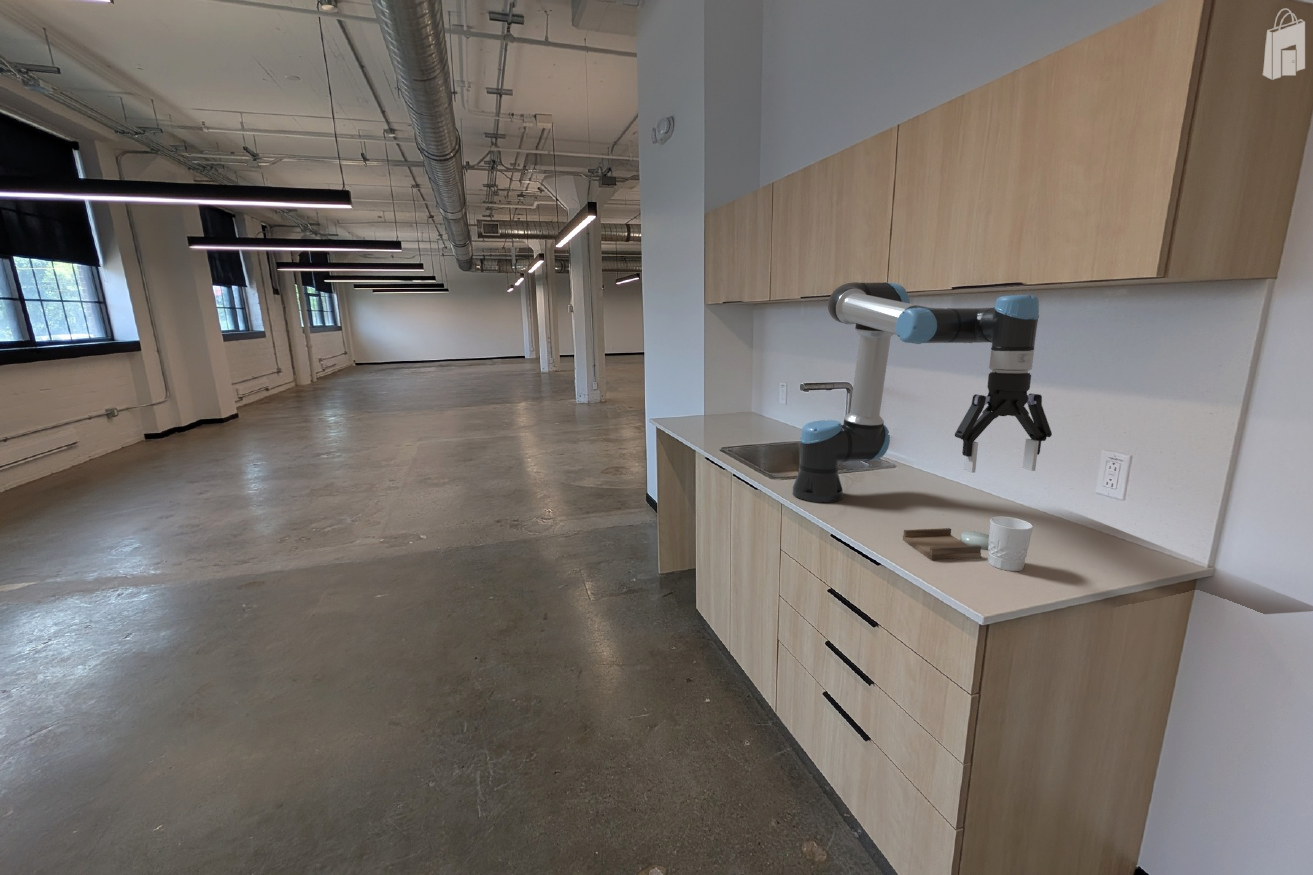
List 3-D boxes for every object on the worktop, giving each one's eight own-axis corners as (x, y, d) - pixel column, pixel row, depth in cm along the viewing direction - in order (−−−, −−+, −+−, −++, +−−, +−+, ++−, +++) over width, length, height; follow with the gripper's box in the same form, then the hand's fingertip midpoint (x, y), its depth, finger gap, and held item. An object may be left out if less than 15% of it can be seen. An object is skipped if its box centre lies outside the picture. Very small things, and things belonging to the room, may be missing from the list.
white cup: (991, 554, 126) (997, 513, 124) (1031, 565, 120) (1037, 523, 118) (979, 564, 121) (984, 522, 119) (1020, 576, 115) (1026, 532, 113)
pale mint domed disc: (954, 539, 136) (955, 532, 135) (980, 538, 136) (981, 530, 136) (973, 550, 129) (974, 543, 128) (1000, 549, 130) (1001, 541, 129)
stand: (902, 539, 135) (903, 529, 134) (947, 537, 136) (948, 527, 135) (931, 560, 123) (932, 549, 122) (980, 557, 124) (981, 546, 124)
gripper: (964, 373, 108) (955, 476, 112) (1080, 371, 110) (1067, 472, 114) (942, 371, 115) (934, 467, 119) (1051, 369, 118) (1039, 464, 121)
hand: (999, 470), depth 117 cm, fingers open, 13 cm apart
